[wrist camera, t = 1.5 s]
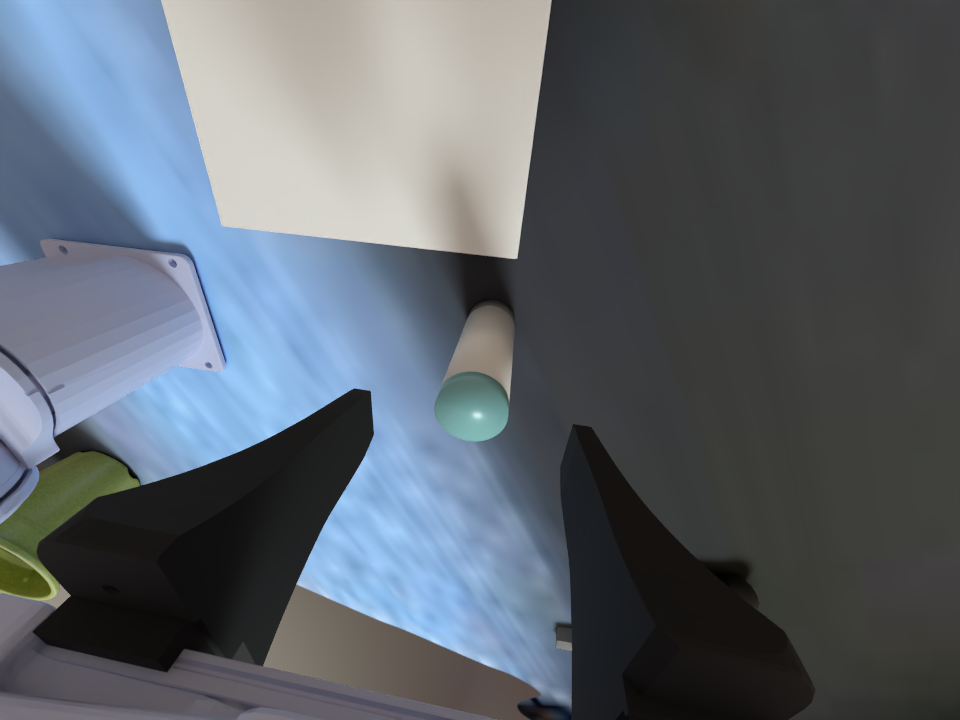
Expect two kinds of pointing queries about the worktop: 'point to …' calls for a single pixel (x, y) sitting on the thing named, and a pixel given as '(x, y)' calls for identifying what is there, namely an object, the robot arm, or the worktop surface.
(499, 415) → the marker
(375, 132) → the notepad
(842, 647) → the worktop surface
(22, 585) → the plant pot
